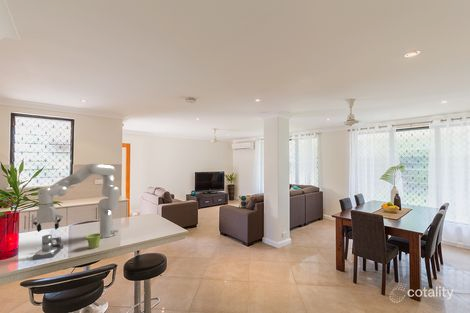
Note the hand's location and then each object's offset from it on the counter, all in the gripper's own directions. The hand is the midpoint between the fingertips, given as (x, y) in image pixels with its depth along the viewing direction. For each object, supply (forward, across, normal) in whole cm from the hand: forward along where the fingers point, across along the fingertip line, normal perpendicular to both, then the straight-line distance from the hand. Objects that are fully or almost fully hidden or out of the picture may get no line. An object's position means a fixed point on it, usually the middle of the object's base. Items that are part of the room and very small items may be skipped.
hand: (48, 229), depth 148 cm
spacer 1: (+9, -1, -1) cm, 9 cm away
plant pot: (+18, +26, +2) cm, 32 cm away
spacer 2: (+14, -1, -1) cm, 14 cm away
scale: (+17, -1, +1) cm, 17 cm away
